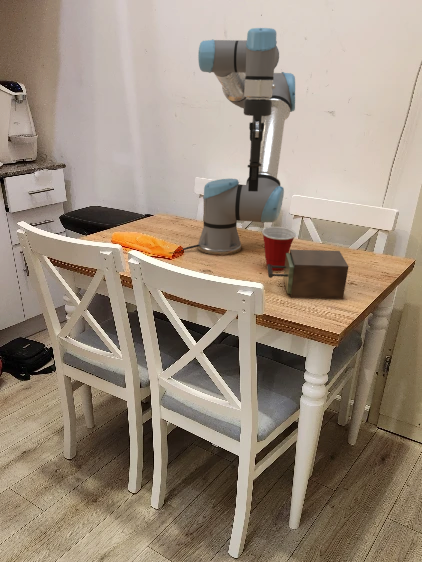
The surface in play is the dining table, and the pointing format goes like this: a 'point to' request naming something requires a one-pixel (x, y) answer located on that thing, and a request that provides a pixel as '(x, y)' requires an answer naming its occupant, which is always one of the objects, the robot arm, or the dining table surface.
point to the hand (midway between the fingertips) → (252, 190)
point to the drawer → (287, 272)
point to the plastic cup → (277, 245)
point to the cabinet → (318, 274)
